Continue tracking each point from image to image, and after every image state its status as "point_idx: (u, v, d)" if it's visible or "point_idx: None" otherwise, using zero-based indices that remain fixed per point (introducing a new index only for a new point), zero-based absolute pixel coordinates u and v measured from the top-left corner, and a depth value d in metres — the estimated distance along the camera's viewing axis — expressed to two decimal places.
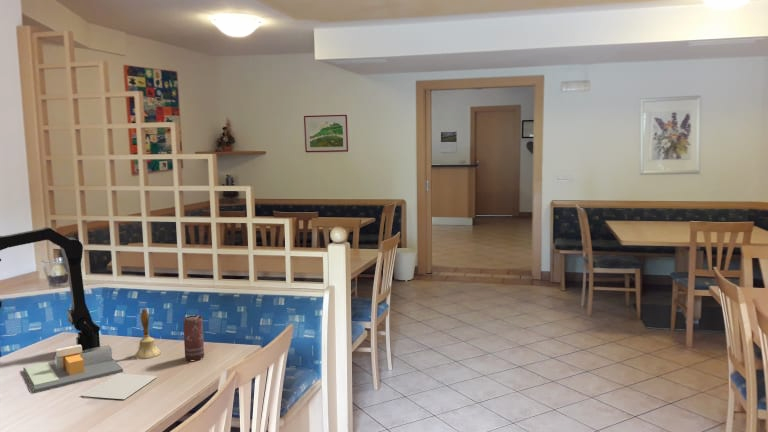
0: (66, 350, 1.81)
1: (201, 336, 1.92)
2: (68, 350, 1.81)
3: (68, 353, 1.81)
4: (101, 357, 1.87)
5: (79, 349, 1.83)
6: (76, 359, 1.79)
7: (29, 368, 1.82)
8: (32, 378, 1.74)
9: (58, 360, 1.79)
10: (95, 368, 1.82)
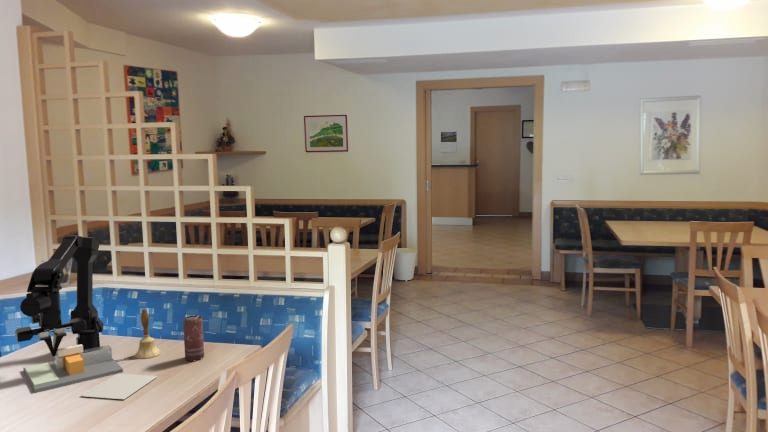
0: (67, 350, 1.81)
1: (201, 336, 1.92)
2: (70, 349, 1.82)
3: (69, 353, 1.82)
4: (101, 357, 1.87)
5: (80, 349, 1.84)
6: (76, 359, 1.79)
7: (29, 368, 1.82)
8: (32, 378, 1.74)
9: (58, 360, 1.79)
10: (95, 368, 1.82)
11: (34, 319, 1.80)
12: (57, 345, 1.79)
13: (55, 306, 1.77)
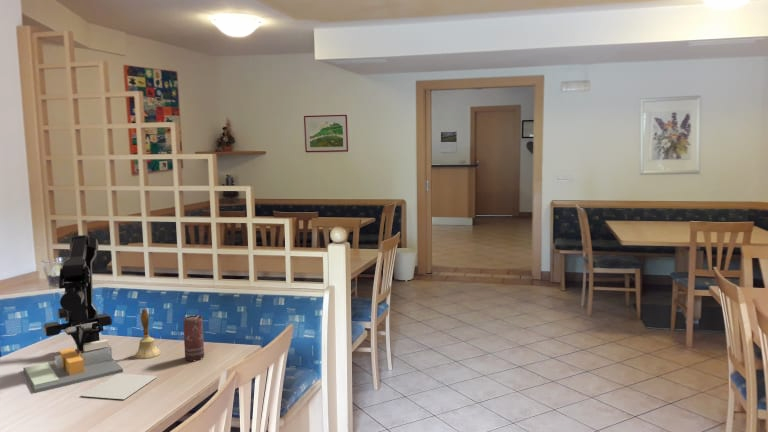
0: (93, 345, 1.86)
1: (201, 336, 1.92)
2: (95, 344, 1.86)
3: (95, 347, 1.86)
4: (101, 357, 1.87)
5: (105, 344, 1.88)
6: (76, 359, 1.79)
7: (29, 368, 1.82)
8: (32, 378, 1.74)
9: (58, 360, 1.79)
10: (95, 368, 1.82)
11: (61, 314, 1.84)
12: (83, 340, 1.83)
13: (84, 301, 1.82)
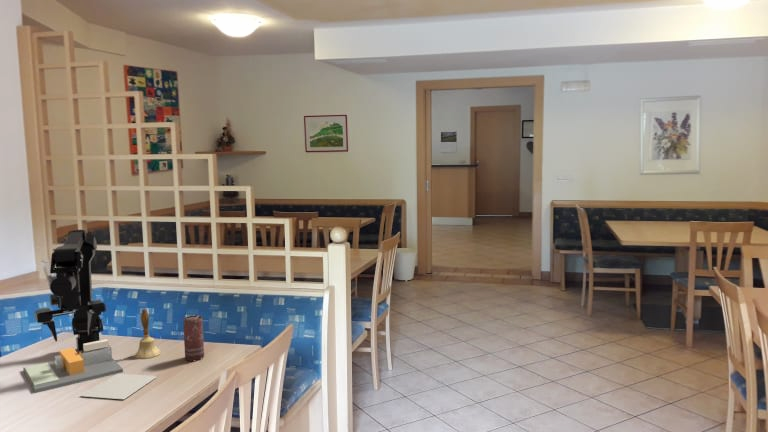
0: (93, 344, 1.86)
1: (201, 336, 1.92)
2: (95, 344, 1.86)
3: (95, 347, 1.86)
4: (101, 357, 1.87)
5: (105, 344, 1.88)
6: (76, 359, 1.79)
7: (29, 368, 1.82)
8: (32, 378, 1.74)
9: (58, 360, 1.79)
10: (95, 368, 1.82)
11: (53, 301, 1.78)
12: (92, 324, 1.80)
13: (77, 287, 1.76)
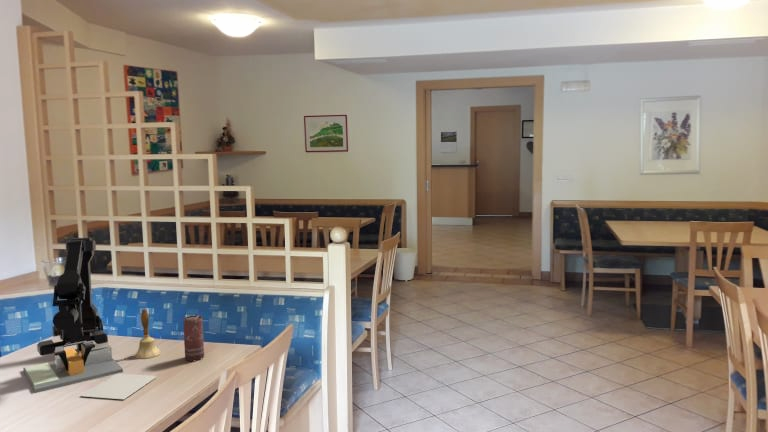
0: None
1: (201, 336, 1.92)
2: (95, 344, 1.86)
3: (95, 347, 1.86)
4: (101, 357, 1.87)
5: (105, 344, 1.88)
6: (76, 359, 1.79)
7: (29, 368, 1.82)
8: (32, 378, 1.74)
9: (58, 360, 1.79)
10: (95, 368, 1.82)
11: (55, 332, 1.80)
12: (86, 357, 1.80)
13: (79, 318, 1.77)
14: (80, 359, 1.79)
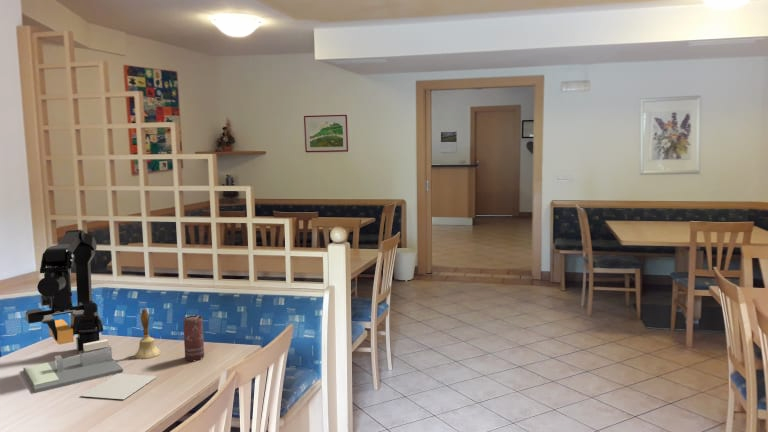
0: (93, 344, 1.86)
1: (201, 336, 1.92)
2: (95, 344, 1.86)
3: (95, 347, 1.86)
4: (101, 357, 1.87)
5: (105, 344, 1.88)
6: (65, 328, 1.76)
7: (29, 368, 1.82)
8: (32, 378, 1.74)
9: (58, 360, 1.79)
10: (95, 368, 1.82)
11: (44, 301, 1.77)
12: (75, 326, 1.77)
13: (67, 287, 1.74)
14: (69, 328, 1.76)
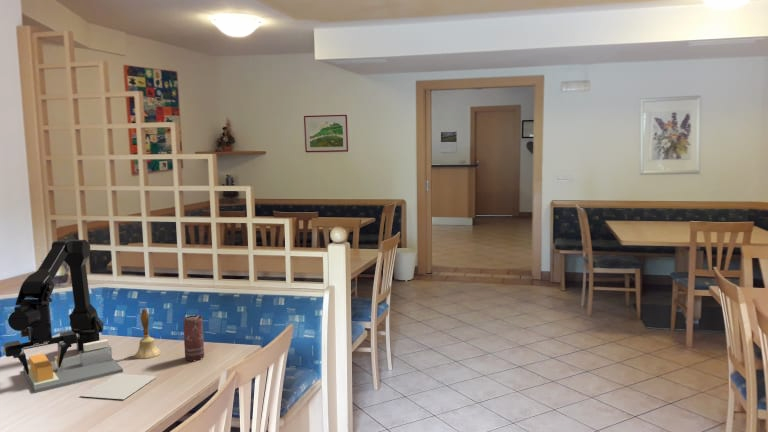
0: (93, 344, 1.86)
1: (201, 336, 1.92)
2: (95, 344, 1.86)
3: (95, 347, 1.86)
4: (101, 357, 1.87)
5: (105, 344, 1.88)
6: (45, 365, 1.74)
7: (29, 368, 1.82)
8: (32, 378, 1.74)
9: None
10: (95, 368, 1.82)
11: (23, 333, 1.74)
12: (62, 356, 1.75)
13: (45, 319, 1.71)
14: (49, 365, 1.74)
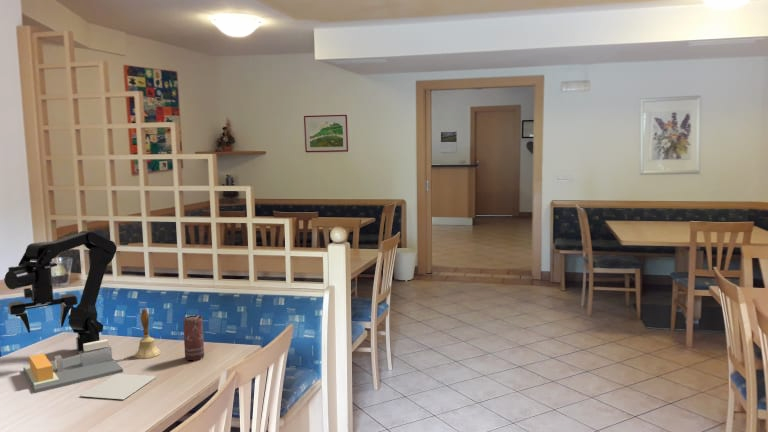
0: (93, 344, 1.86)
1: (201, 336, 1.92)
2: (95, 344, 1.86)
3: (95, 347, 1.86)
4: (101, 357, 1.87)
5: (105, 344, 1.88)
6: (45, 365, 1.74)
7: (29, 368, 1.82)
8: (32, 378, 1.74)
9: (58, 360, 1.79)
10: (95, 368, 1.82)
11: (27, 294, 1.86)
12: (64, 316, 1.88)
13: (43, 282, 1.83)
14: (49, 365, 1.74)
